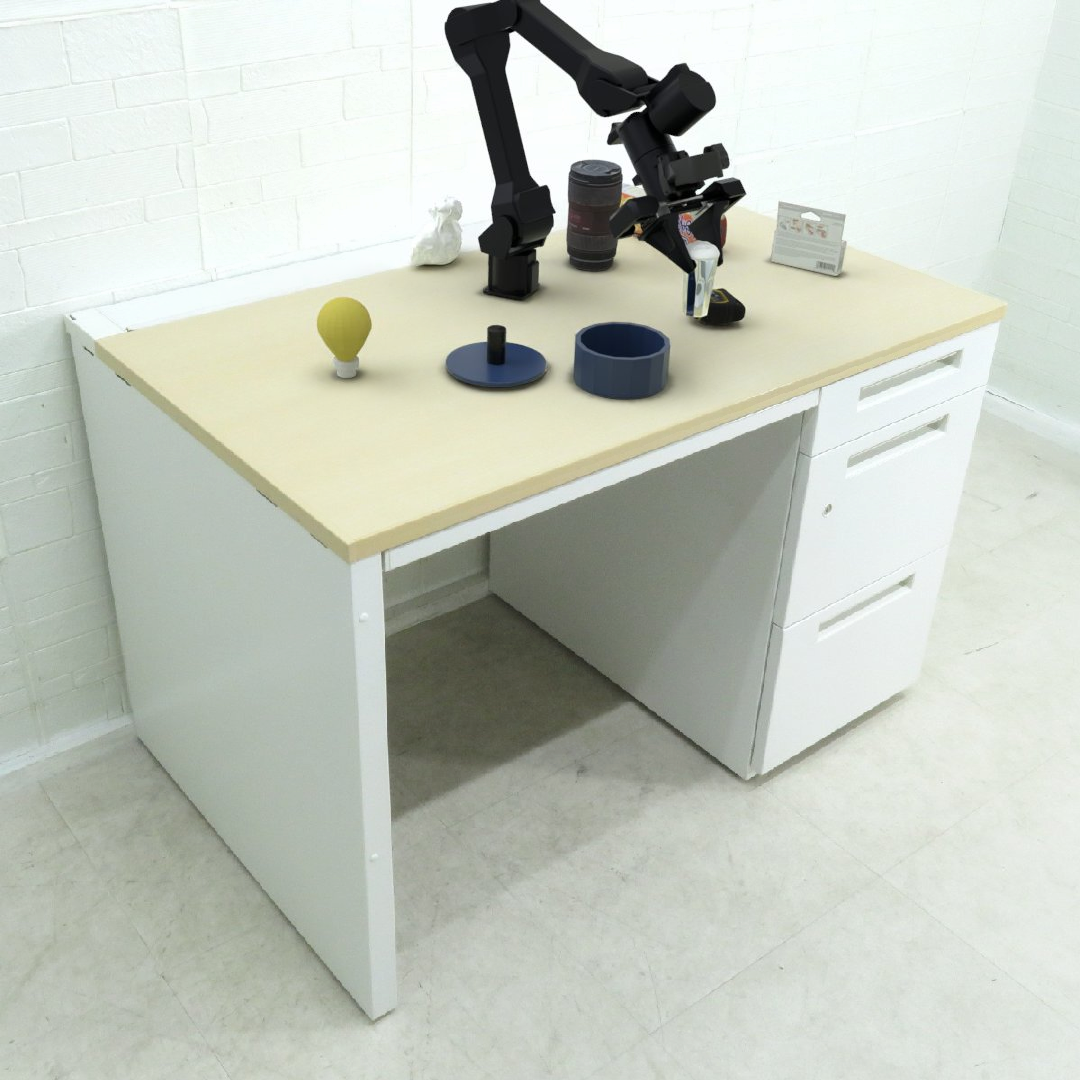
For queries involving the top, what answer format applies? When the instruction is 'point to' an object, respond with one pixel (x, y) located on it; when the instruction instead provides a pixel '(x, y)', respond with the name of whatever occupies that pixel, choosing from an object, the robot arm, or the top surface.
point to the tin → (621, 360)
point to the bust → (439, 234)
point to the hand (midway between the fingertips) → (705, 268)
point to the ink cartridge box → (809, 239)
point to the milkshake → (699, 278)
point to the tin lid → (496, 361)
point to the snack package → (684, 219)
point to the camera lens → (592, 213)
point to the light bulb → (344, 332)
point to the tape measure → (723, 309)
